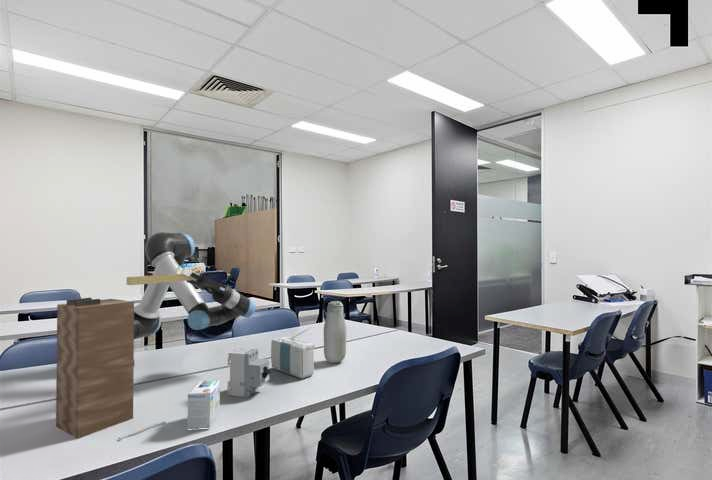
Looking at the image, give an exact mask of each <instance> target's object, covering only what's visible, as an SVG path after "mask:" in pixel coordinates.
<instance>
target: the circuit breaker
mask: <svg viewBox="0 0 712 480" xmlns="http://www.w3.org/2000/svg"><path fill="white" fill-rule="evenodd" d="M227 354H228V357H227V365H228V366H229V381H227V396H236V397H244V398H245V397H250V396H251V395H252V394H254V393H255V392H256V391H258V389H259V388H261V387H262V386H263V385H264V384H266V383H267V382H268V381H270V374H271V373H272V369H270V359H268V358H259V348H255V347H253V348H252V347H251V348H250V347H237V348H236V349H234V350H232V351H229V352H228V353H227Z"/></svg>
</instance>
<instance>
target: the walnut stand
mask: <svg viewBox="0 0 712 480" xmlns="http://www.w3.org/2000/svg"><path fill="white" fill-rule="evenodd" d="M56 306H57V307H56V309H57V310H56V311H57V312H56V314H57V315H56V318H57V319H56V380H55V381H56V387H55V389H56V390H55V391H56V393H55V395H56V396H55V397H56V398H55V401H56V402H55V427H56V428H58V429H60V430H61V431H63V432H65V433H66V434H68V435H70V436H72V437H74V438H76V439H81V438H84V437H86V436H87V437H88V436H89V435H91V434H95V433H97V432H100V431H103V430H106V429H107V428H111V427H113V426H116V425H119V424H122V423H125V422H127V421H129V420H132V419H134V376H135V375H134V369H135V359H134V358H135V357H134V355H135V352H134V349H135V348H134V347H135V343H134V342H135V341H134V307H135V301H130V300H123V299H117V298H115V299H114V298H105V299H100V298H92V297H85V298H84V297H83V298H73V299H71V298H70V299H66V303H60V304H59V303H58V304H57V305H56Z"/></svg>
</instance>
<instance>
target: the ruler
mask: <svg viewBox="0 0 712 480" xmlns="http://www.w3.org/2000/svg"><path fill="white" fill-rule="evenodd" d="M165 424H166V420H161V421H158V422H156V423H153V424H151V425H148V426H145V427H143V428H140V429H137V430H134V431H132V432H129V433H126V434H124V435H121V436H119V437H118V440H119V439H120V440H121V441H123V440H122V439H124V438H127V439H129V438H132V437H134V436H137V435H139V434H142V433H145V432H147V430H148V431H150V430H152V429H151V428H153V429H155V428H158V427H161V426H163V425H165ZM160 425H161V426H160ZM157 426H158V427H157ZM154 427H155V428H154ZM149 429H150V430H149ZM144 431H145V432H144ZM131 436H132V437H131ZM128 437H129V438H128ZM120 440H119V441H120ZM124 440H125V439H124Z"/></svg>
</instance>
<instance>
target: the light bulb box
mask: <svg viewBox="0 0 712 480" xmlns="http://www.w3.org/2000/svg"><path fill="white" fill-rule="evenodd" d="M220 383H221V381H220V380H204V381H203V380H202V381H201V380H199V381H198V382H197V383H196V385H195V386H193V388H192V389H191V390H190V391H189V392H188V393H187V429H199V428H210V427H211V426H212V427H213V425H214V424H215V422H216V420H217V419H216V418H218V417H219V416H220V410H221V409H220V405H221V404H220V403H221V399H220V398H221V397H220V392H221V391H220V389H221V388H220V387H221V384H220ZM214 421H215V422H214ZM212 424H213V425H212ZM212 427H211V428H212ZM211 428H210V429H211Z"/></svg>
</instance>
